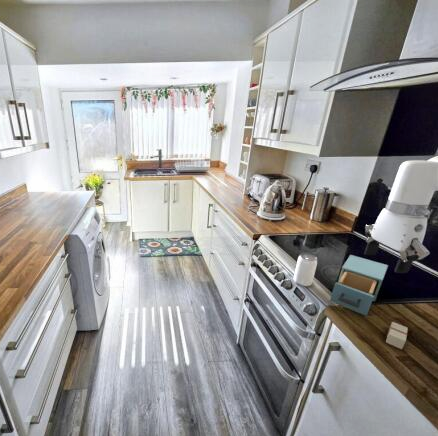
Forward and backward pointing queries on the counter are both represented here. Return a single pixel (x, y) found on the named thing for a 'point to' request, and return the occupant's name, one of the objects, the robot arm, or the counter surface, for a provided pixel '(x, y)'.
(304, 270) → the can
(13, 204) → the counter surface
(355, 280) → the drawer
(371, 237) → the robot arm
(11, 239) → the counter surface
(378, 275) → the cabinet
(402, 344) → the bundle
